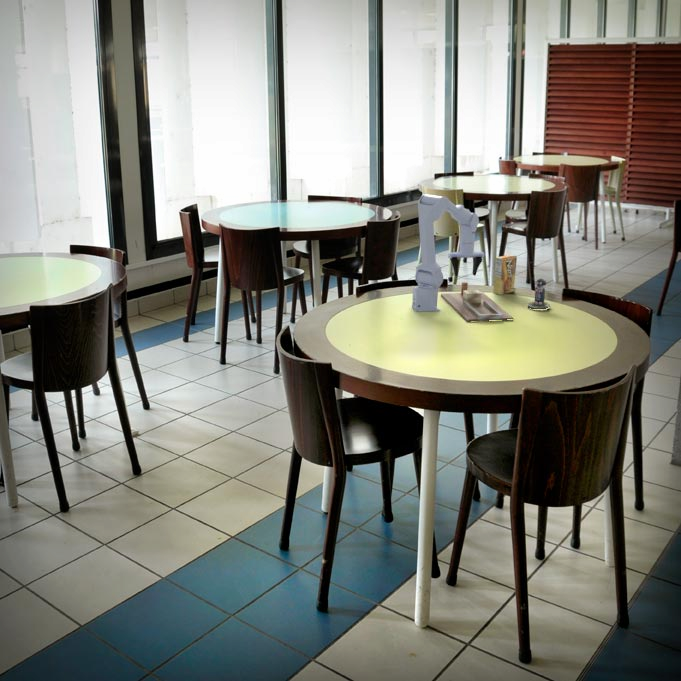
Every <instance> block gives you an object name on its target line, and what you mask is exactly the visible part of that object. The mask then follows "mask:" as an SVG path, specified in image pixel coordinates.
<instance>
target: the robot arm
mask: <svg viewBox="0 0 681 681" xmlns="http://www.w3.org/2000/svg"><path fill="white" fill-rule="evenodd" d="M417 209H418V211H417V212H418V228H419V230H418V231H419V240H420V241H419V243H420V260H421V262H420V263H419V264H417V266H415V276H414V279H415V281H416V283H417V286H414V287H413V289H412V301H411V302H412V303H411V307H412V309H414V310H415V311H416V312H437V311H438V312H440V311H441V308H439V307H438V294H439V292H438V291H439V288H440V287H441V285H442V284H443V282H444V274H443V272H442V267H441V266H440V264H438V263H437V260H436V257H437V256H436V247H435V246H436V245H435V244H436V242H435V227H434V223H435V222H436V221H438V220H439V219H440V218H441V217H442V216H443V215H444V214H445V213H446V212H447V213H449V214H450V216H451V219H453V220H455V221H456V222H458V225H459V226H460V237H459V251H454V252H448V256H447V258H448V259H450V262H451V264H452V267H453V274H454V276H455V277H458V275H459V273H458V272H459V263H460V260H459V259H463V258H470V259H471V258H472V275H473V276H474V277H475V276H477V271H478V269H479V267H480V265H481V264H482V262H483V258H485V252H483V251H475V250H474V249H475V238H476V236H475V235H476V231H477V229H478V224H479V222H480V219H479V215H478V214H476V213H475V212H471V211H470V209H469V208H465V205H463V204H456V205H455V204H454V203H453V202H452V201H451V200H450V199H449V198H448V197H446V196H443V195H442V196H441V195H435V194H428V193H423V194H421V196H420V198H419V199H418V201H417Z"/></svg>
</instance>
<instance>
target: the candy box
mask: <svg viewBox="0 0 681 681" xmlns="http://www.w3.org/2000/svg"><path fill="white" fill-rule="evenodd" d="M517 259H518V257H517V256H516V255H512V254H506V255H502V256H501V255H500V256H496V257H495V266H494V276H493V277H494V281H493V291H492V293H493V294H497V295H500V296H501V295H504V294H509V293H512V292H514V291H515V282H516V281H515V280H516V272H517V271H516V270H517ZM509 288H514V289H509ZM513 290H514V291H513Z"/></svg>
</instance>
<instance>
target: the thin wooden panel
mask: <svg viewBox="0 0 681 681" xmlns="http://www.w3.org/2000/svg"><path fill="white" fill-rule="evenodd" d="M481 293H482V296H481V303H471V304H469V303H468V302H467V301H463V295H461V292H459V293H458V292H457V293H453V292H451V293H440V298H442V299H443V300H444V301H445V302H446V303H447V304H448V305H449V306H450V307H451V309H453V310H454V311H455V312H456V313H457V314H458V315H459V317H461V318H462V319H463V320H464V321H465V322H466V323H472V322H471V321H484V322H490V321H489V320H507V319H513V320H514V317H513V315H511V314H509V313H508V312H507V311H506V310H505V309H503V308H502V307H501V306H500V305H499V304H498V303H497V302H495V301H494V300H492V298H490V297H489V296H488V295H487V294H485V293H484V292H481Z"/></svg>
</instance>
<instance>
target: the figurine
mask: <svg viewBox="0 0 681 681" xmlns="http://www.w3.org/2000/svg"><path fill="white" fill-rule="evenodd" d="M546 285H547V281H546V280H545V279H543V278H539V279H537V280H536V284H535V289H534V292H535V293H534V301H532V302H529V303H528V304H527V309H529V308H531V309H546V308H548V307H550V308H551V304H550V303H548V302H547V301H545V298H546ZM531 309H530V310H531Z"/></svg>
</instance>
